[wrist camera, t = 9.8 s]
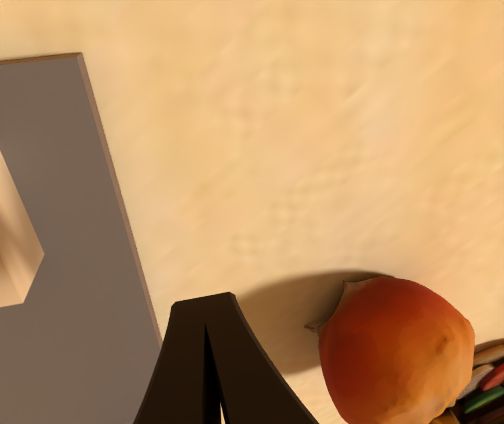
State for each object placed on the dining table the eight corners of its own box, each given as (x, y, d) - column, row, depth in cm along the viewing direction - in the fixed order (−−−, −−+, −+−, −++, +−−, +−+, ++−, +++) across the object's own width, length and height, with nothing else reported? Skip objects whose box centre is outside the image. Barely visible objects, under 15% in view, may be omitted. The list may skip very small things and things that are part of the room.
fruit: (319, 254, 19) (477, 385, 15) (391, 237, 25) (520, 327, 20) (257, 368, 22) (371, 503, 18) (333, 329, 28) (433, 425, 24)
